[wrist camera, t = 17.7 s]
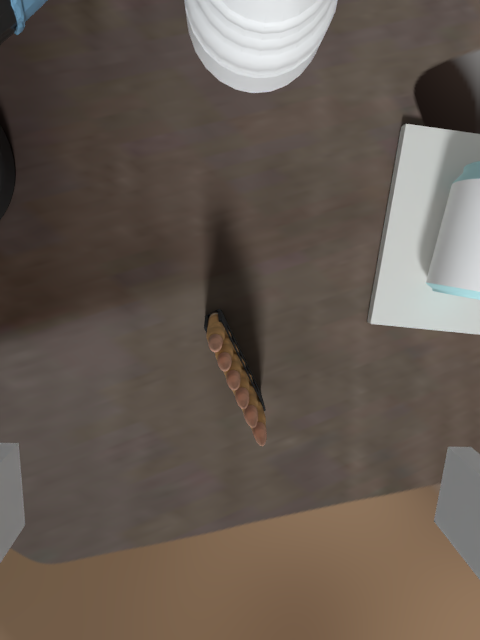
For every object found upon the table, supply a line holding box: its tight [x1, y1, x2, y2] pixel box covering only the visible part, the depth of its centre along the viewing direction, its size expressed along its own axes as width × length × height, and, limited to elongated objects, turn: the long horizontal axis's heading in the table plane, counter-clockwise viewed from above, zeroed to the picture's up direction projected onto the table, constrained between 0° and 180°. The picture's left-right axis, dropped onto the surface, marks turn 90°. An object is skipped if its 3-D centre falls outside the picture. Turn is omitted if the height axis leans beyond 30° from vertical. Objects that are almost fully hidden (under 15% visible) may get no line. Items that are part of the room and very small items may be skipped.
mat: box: [367, 124, 480, 334], centre depth 39 cm, size 20×14×1 cm
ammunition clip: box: [204, 309, 267, 446], centre depth 35 cm, size 11×2×12 cm, turn 25°
